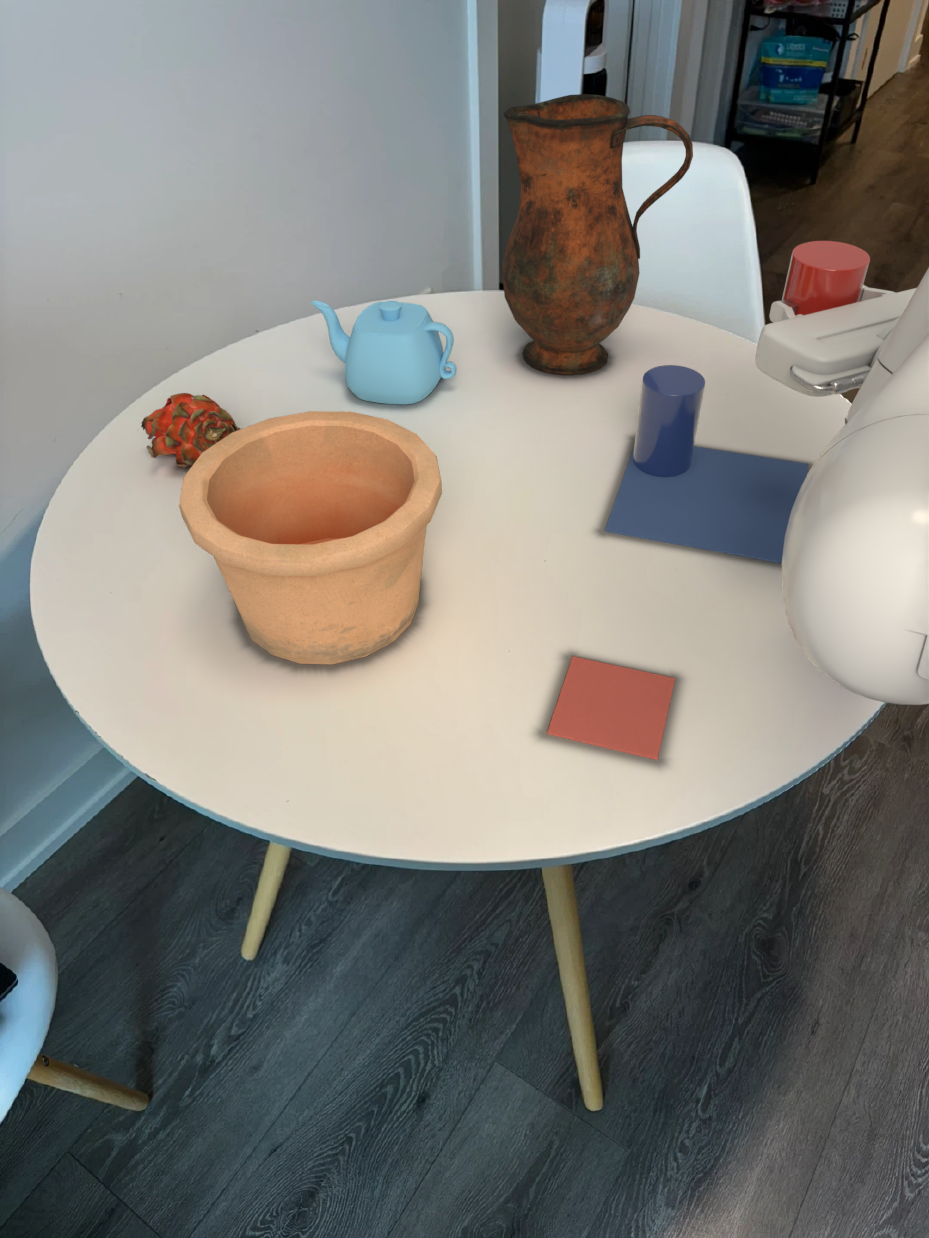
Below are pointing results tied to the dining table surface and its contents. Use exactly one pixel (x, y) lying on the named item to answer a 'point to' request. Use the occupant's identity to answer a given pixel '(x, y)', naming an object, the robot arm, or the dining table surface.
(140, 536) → the dining table surface
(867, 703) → the dining table surface
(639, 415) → the blue canister
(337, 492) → the pottery
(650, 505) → the blue mat
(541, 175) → the pitcher
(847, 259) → the red canister
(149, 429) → the dragon fruit
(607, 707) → the red mat
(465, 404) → the dining table surface
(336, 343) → the teapot
